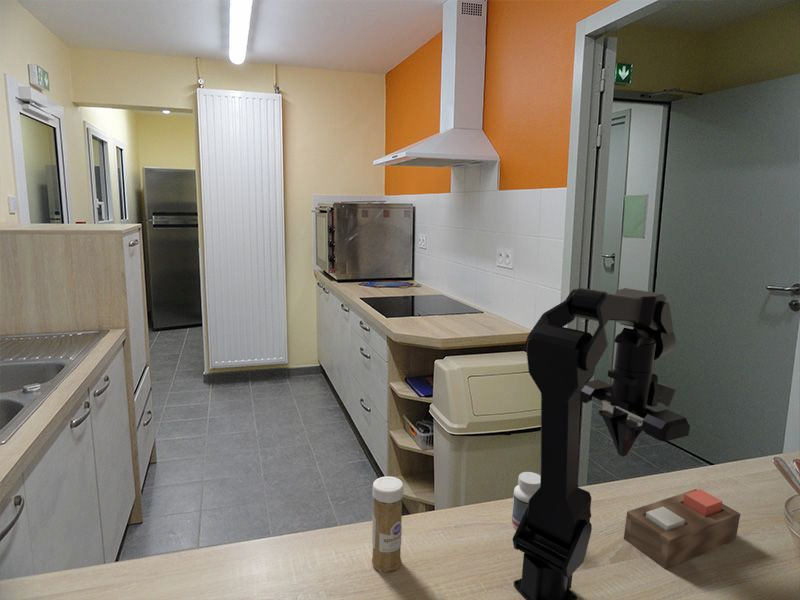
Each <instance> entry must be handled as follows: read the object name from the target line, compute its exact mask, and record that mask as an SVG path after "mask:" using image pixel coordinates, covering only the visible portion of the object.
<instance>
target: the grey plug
mask: <svg viewBox="0 0 800 600" xmlns="http://www.w3.org/2000/svg"><path fill="white" fill-rule="evenodd" d="M646 517H647V518H648V519H650V520H651V521H653V522H654V523H656V524H657V525H659V526H660V527H662V528H663V529H665V530H666V531H670V530H673V529H676V528H678V527H681V526H684V523H685V520H684V519H683V518H681V517H680V516H678V515H676V514H675V513H673V512H671V511H670V510H668V509H667V508H665V507H660V508H657V509H654V510H651V511H648V512H646Z"/></svg>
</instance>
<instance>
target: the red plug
mask: <svg viewBox="0 0 800 600" xmlns="http://www.w3.org/2000/svg"><path fill="white" fill-rule="evenodd" d="M683 504H684V505H686V506H687V507H689V508H691V509H692V510H694V511H696V512H697V513H699V514H701V515H702V516H704V517H709V516H711V515H714V514H717V513H720V512H721V507H722V504H723V500H721V499H719V498H718V497H716V496H714V495H712V494H710V493H708V492H706V491H704V490H703V489H697V490H696V491H693V492H690V493H687V494H685V495H684V502H683Z"/></svg>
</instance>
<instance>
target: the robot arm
mask: <svg viewBox="0 0 800 600" xmlns="http://www.w3.org/2000/svg"><path fill="white" fill-rule="evenodd" d="M666 300H667V297H666V295H665V294H664V293H660V292H652V291H646V290H641V289H640V290H639V289H633V288H627V287H626V288H620V289H617V290H616V291H615V292H614V293H610V292H607V291H603V290H596V289H591V288H584V287H580V288H575V289H574V288H573V290H571V291H570V293H569V294H568V296H567V297H566V298H565V300H563V301H562V302H560V303H559V304H557V305H555V306H554V307H551V309H548V310H547V311H545V312H543V313H542V314H541V316H540V317H539V319H538V320H537V322H536V323H535V325H534V326H533V327H532V329H531V331H530V332H529V334H528V336H527V338H526V341H525V353H526V359H527V370H528V373H529V376H530V377H531V379H532V380H533V382H534V384H535V385H536V387H537V389H538V390H539V392H540V476H541V478H540V488H539V489H538V490H537V491H536V492H535V493H534V494H533V496H532V497H531V498H530V499H529V503H528V507H527V509H526V511H525V513H524V516H523V518H522V520H521V522H520V524H519V526H518V528H517V529H515V533H514V535H513V537H512V542H513V543H512V544H513V548H514V549H515V550H516V551H520V552H521V553H523V557H522V559H523V560H522V571H521V578H520V579H516V580H514V581H513V587H514V588H515V589H516V590H517V591H518V592H519V594H521V595H522V596H523V597H524V598H525V600H578V597H577V595H576V594H575V593H573V592H572V591H571V590H570V589H572V584H573V583H572V582H573V574H574V573H575V572H576V571H577V570H578V568H579V567H580V566H581V565H582V564H583V563H584V561H585V558H586V554H587V550H588V546H589V542H590V539H591V535H592V530H593V528H592V523H591V518H592V512H591V511H592V510H591V505H592V496H591V493H590V491H587V490H585V489H582V488H580V487H579V485H578V475H579V474H578V473H579V447H580V445H579V444H580V441H579V439H580V418H581V417H580V416H581V415H580V414H581V402H582V403H584V404H589V403H591V402H592V401H593V398H595V399H597V400H599V401H600V402H601V403H602V408H601V410H599V411H598V415H599V416H601V417H602V419H603V421H604V424H605V425H606V428H607V430H608V432H609V434H610V437H611V439H612V442H613V445H614V447H615V450H616V453H617V455H619V456H620V457H626V456H627V455H628V453H629V452H630V451H631V449H632V447H633V445H634V444H635V442H636V440H637V438H638V437H639V436H640V434H641V433H642V432H643V431H644V433H645V435H648V436H650V437H652V438H654V439H655V440H657V441H661V442H670V441H674V440H677V439H680V438H685V437H688V436H689V435H690V427H691V423H690V421H689V420H688V418H687V417H685V416H683V415H681V414H678V413H677V412H674V411H672V410H669V409H663V410H659V411H655V410H653V409H651V408H649V407H652V408H653V407H657V406H658V404H661V405H664V406H665V407H668V408H669V407H670V406H671V404H672V401H673V398H674V395H675V393H676V391H677V389H676V388H673V387H672V386H669V385H666V384H664V383H660V382H658V381H659V377H658V375H657V374H655V373H653V369H654V361H655V360H658V359H660V358H661V357H663V356H665V355H667V354H669V353H670V352H671V351H672V350H673V349H674V348H675V346H676V343H677V342H676V341H677V338H676V335H675V333H674V331H673V330H674V326H673V325H674V324H673V319H672V313H671V306H670V303H669V301H666ZM576 318H579V319H585V320H589V321H595V322H598V327H597V329H596V330H595V332H594V333H593V335H592V334H591V332H588V331H582V330H578V329H574V328H569V327H565V326H566V325H568V324H570V323H572V322H574V320H575V319H576ZM609 321H615V323H618V324H620V325H622V326H626V327H623V329H622V331H620V332H619V333H617V334H616V335H615V337H614V340H613V341H614V343H616V347H615V348H616V349H615V358H614V366H613V369H608V371H607V377H609V378H610V379H612V382H611V383H612V384H610V383H608V382H605V381H603V380H601V379H596V380H595V379H594V380H591V379H592V378H593V376H594V375H595V373H596V371H595V370H596V366H597V364H598V363H599V361H601V358H602V356H603V355H604V353H605V351H606V349H607V347H608V345H609V343H608V338H607V337H608V336H607V332H606V325H607V324H608V322H609ZM628 327H630V328H628ZM631 327H632V328H631Z"/></svg>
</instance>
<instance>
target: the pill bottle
mask: <svg viewBox="0 0 800 600" xmlns="http://www.w3.org/2000/svg"><path fill="white" fill-rule="evenodd" d="M540 478H541V474H539V473H536V472H532V471H523V472H521V473H520V474H519V475H518V479H517V483H518V484H517V485H516V486H515V487H514V490H513V502H512V512H511V513H512V514H511V521H510V522H511V525H512V526H513V528H514V529H515V530H517V528H518V526H519V524H520V522H521V520H522V518H523V516H524V513H525V511H526V509H527V507H528V503H529V499H530V498H531V497H532V496H533V494H534V493H535V492H536V491H537V490H538V489H539V488H540Z"/></svg>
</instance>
